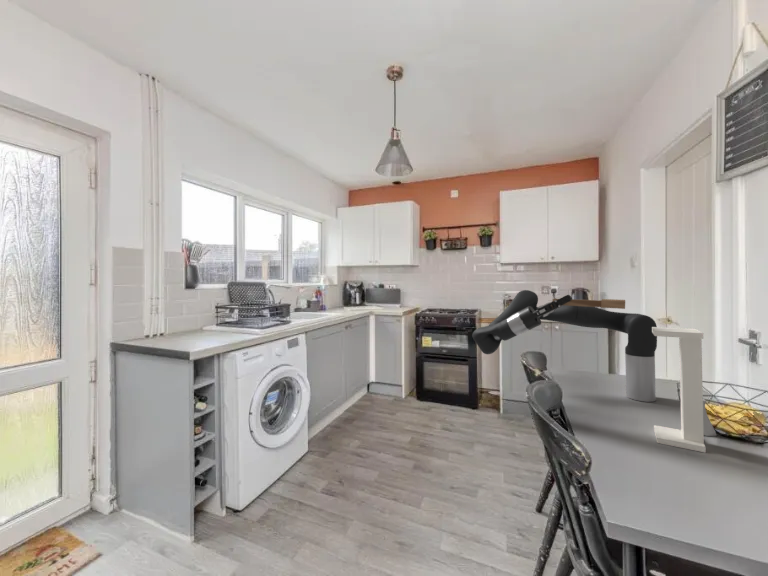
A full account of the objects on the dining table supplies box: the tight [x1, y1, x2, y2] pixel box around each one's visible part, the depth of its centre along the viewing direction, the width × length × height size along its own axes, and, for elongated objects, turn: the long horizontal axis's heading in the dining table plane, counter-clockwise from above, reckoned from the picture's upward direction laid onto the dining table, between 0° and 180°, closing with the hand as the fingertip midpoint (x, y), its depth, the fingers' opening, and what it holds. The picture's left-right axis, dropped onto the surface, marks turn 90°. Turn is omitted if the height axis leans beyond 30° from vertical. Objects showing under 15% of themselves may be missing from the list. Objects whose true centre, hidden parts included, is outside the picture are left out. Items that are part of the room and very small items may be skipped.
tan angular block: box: [552, 298, 626, 310], centre depth 107 cm, size 7×20×2 cm, turn 54°
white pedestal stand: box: [652, 326, 707, 454], centre depth 94 cm, size 10×10×32 cm
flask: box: [703, 398, 717, 437], centre depth 99 cm, size 7×7×10 cm
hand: (570, 297), depth 109 cm, fingers closed on tan angular block, 2 cm apart
